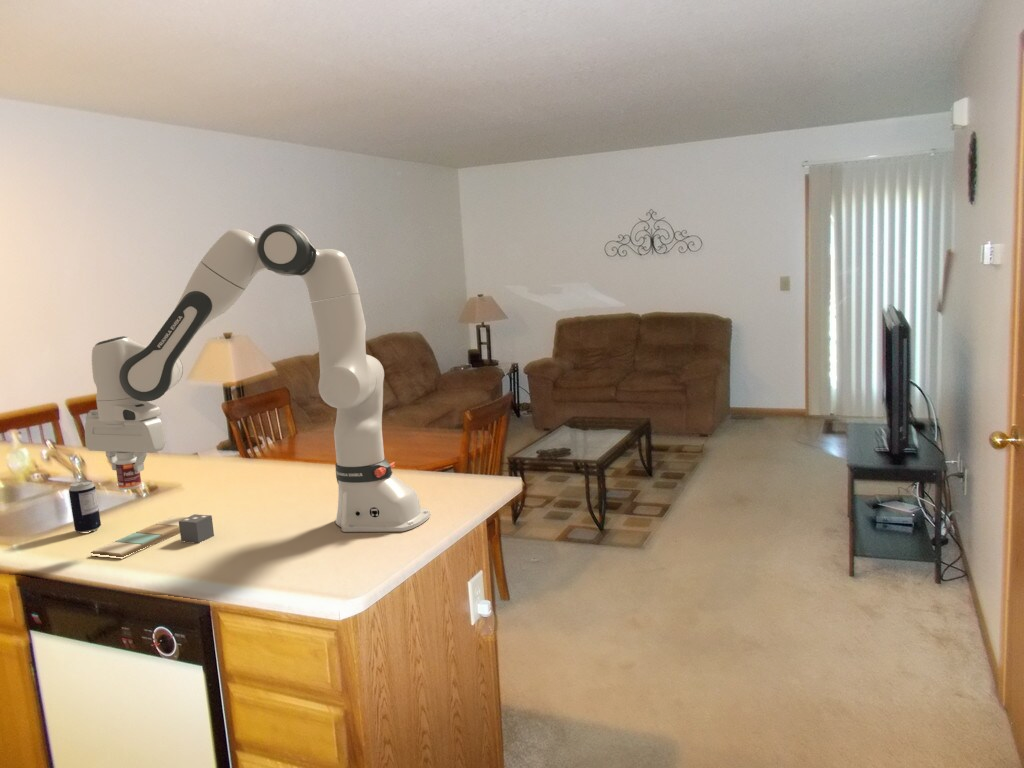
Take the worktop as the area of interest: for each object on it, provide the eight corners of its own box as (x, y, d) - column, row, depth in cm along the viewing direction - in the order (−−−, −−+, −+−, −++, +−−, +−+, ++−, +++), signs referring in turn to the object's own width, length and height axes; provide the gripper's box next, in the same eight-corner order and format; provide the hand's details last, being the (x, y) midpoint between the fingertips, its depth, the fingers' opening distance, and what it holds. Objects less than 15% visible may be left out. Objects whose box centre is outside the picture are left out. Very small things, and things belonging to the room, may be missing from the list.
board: (200, 523, 194) (200, 518, 193) (122, 559, 171) (121, 553, 171) (172, 521, 197) (171, 516, 197) (91, 556, 175) (90, 550, 174)
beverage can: (102, 525, 197) (95, 478, 195) (100, 532, 192) (92, 484, 190) (77, 529, 195) (69, 482, 193) (73, 536, 190) (66, 487, 188)
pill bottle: (126, 491, 176) (121, 454, 175) (114, 488, 178) (109, 452, 177) (146, 485, 180) (141, 449, 179) (134, 483, 182) (129, 447, 181)
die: (214, 536, 184) (211, 515, 183) (198, 543, 179) (196, 522, 178) (197, 534, 185) (194, 513, 185) (181, 542, 181) (178, 520, 180)
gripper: (73, 412, 177) (82, 472, 179) (144, 413, 170) (152, 475, 172) (96, 407, 183) (105, 465, 185) (166, 407, 176) (173, 468, 178)
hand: (128, 470), depth 179 cm, fingers closed on pill bottle, 5 cm apart
